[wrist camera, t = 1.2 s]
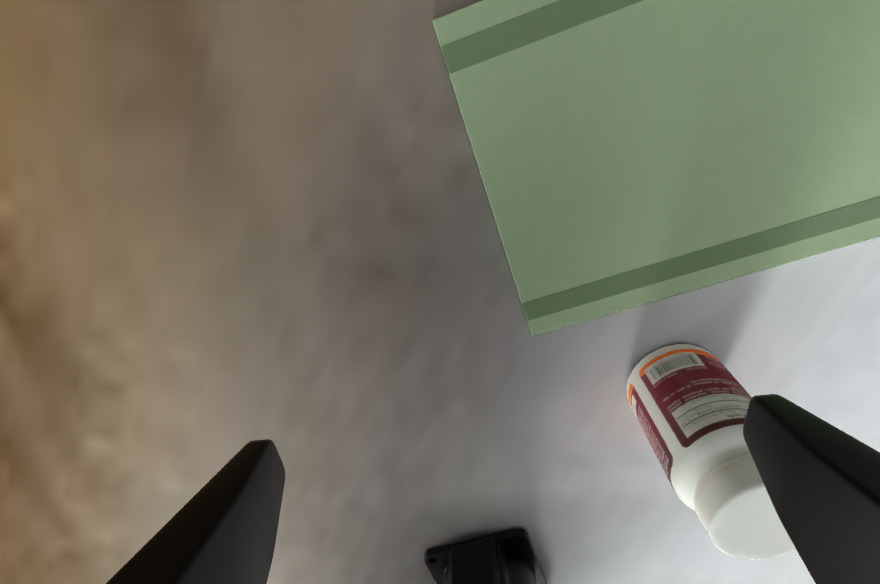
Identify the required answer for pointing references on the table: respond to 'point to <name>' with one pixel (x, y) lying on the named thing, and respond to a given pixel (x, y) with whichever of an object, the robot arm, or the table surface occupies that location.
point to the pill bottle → (707, 447)
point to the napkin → (666, 140)
